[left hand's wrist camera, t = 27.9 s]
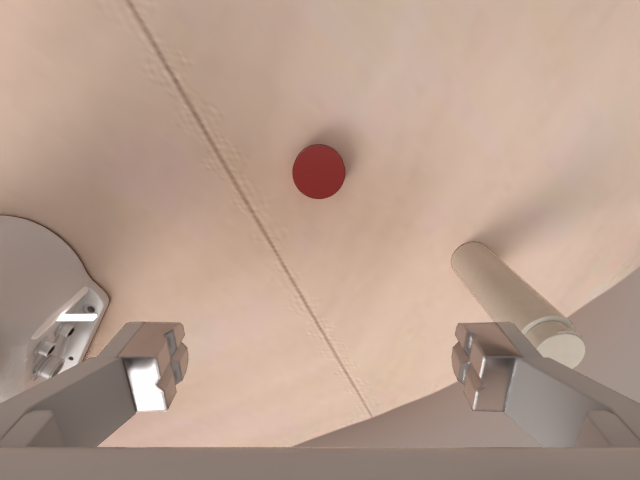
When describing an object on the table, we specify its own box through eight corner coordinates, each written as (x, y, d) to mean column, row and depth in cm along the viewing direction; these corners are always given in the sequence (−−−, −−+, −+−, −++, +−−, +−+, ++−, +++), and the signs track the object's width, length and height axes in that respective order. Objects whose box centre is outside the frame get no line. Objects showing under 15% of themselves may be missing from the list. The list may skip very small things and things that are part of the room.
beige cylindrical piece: (489, 274, 40) (587, 376, 25) (450, 278, 40) (525, 382, 26) (491, 239, 38) (596, 325, 24) (451, 244, 38) (531, 332, 24)
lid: (289, 148, 35) (288, 150, 33) (340, 140, 34) (341, 142, 33) (298, 197, 37) (297, 202, 35) (346, 190, 36) (348, 195, 35)
